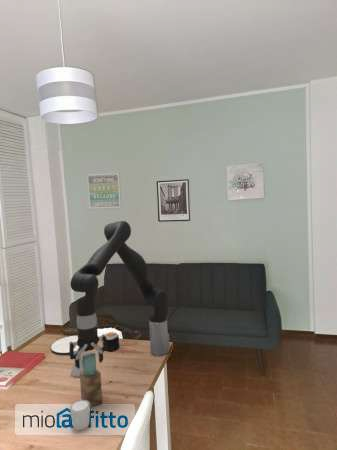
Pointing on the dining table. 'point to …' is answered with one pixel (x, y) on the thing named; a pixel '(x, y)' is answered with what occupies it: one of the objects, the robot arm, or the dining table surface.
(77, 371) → the flask
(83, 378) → the tower top
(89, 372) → the cylinder
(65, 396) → the dining table surface
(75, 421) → the grey cup
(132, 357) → the dining table surface
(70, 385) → the dining table surface
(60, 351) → the plate
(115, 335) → the sushi
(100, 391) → the tower base
